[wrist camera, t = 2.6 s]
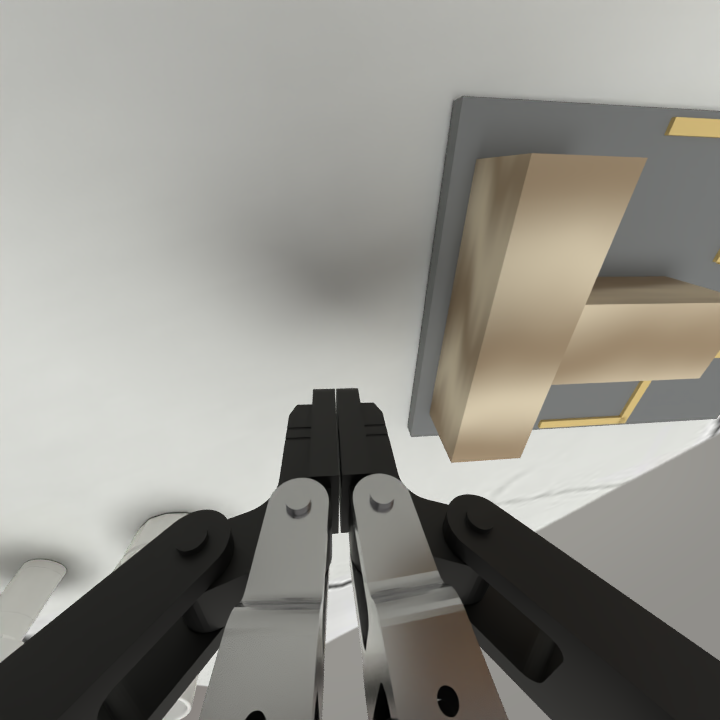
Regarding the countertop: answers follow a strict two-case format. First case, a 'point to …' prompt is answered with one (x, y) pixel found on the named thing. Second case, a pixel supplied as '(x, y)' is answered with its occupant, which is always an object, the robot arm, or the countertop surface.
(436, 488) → the countertop surface
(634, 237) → the board
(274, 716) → the robot arm
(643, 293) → the t block
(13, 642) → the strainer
